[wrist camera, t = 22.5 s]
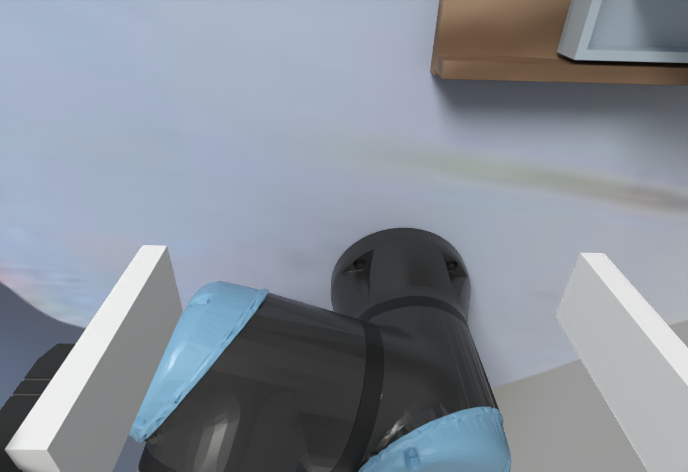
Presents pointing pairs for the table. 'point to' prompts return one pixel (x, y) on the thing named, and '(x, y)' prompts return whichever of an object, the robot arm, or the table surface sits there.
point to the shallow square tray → (626, 31)
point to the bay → (526, 47)
